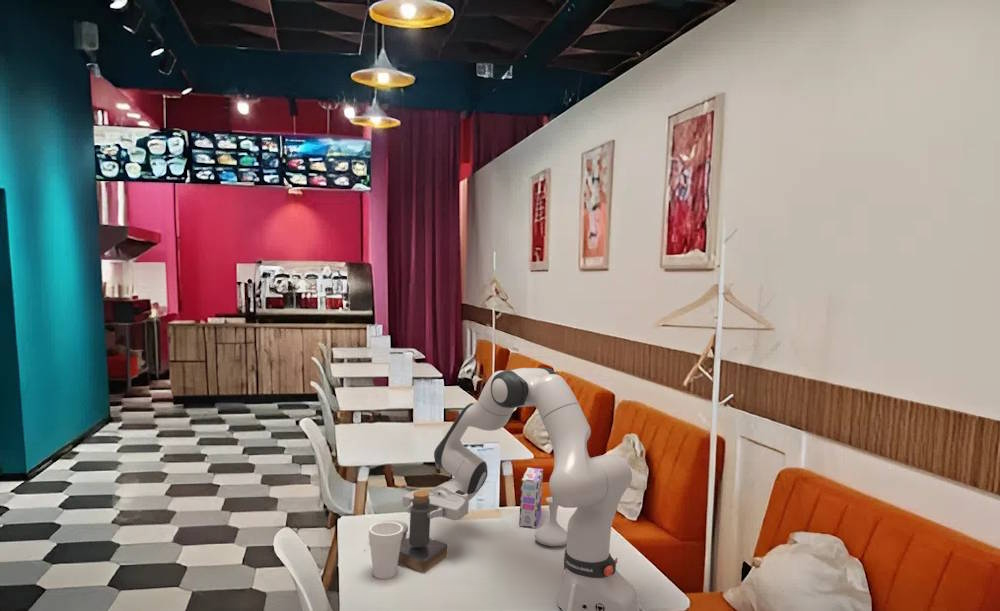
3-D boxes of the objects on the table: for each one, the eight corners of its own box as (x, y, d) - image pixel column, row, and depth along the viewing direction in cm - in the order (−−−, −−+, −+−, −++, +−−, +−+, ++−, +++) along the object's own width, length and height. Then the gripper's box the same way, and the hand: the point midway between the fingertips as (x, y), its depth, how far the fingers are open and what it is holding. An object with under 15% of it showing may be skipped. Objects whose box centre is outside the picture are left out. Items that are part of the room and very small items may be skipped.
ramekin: (374, 535, 204) (374, 519, 203) (409, 536, 204) (409, 520, 204) (368, 551, 193) (369, 534, 192) (405, 551, 193) (406, 535, 193)
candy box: (535, 529, 214) (538, 481, 212) (518, 526, 215) (520, 479, 214) (541, 513, 227) (543, 468, 226) (525, 511, 228) (527, 466, 227)
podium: (446, 556, 191) (447, 543, 191) (423, 573, 180) (424, 559, 180) (414, 546, 196) (414, 534, 196) (389, 562, 186) (390, 548, 186)
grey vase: (568, 551, 198) (572, 472, 196) (532, 547, 199) (535, 469, 198) (570, 534, 211) (574, 460, 209) (536, 530, 212) (539, 457, 211)
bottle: (405, 543, 187) (407, 494, 186) (416, 536, 192) (418, 488, 191) (421, 549, 184) (424, 498, 183) (432, 541, 189) (435, 492, 188)
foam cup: (368, 583, 174) (370, 536, 173) (366, 567, 182) (367, 523, 182) (403, 579, 176) (405, 534, 175) (399, 564, 185) (401, 520, 184)
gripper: (417, 482, 203) (390, 495, 191) (472, 495, 194) (448, 510, 182) (417, 501, 204) (390, 515, 192) (472, 515, 194) (447, 531, 182)
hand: (418, 513), depth 187 cm, fingers closed on bottle, 6 cm apart
